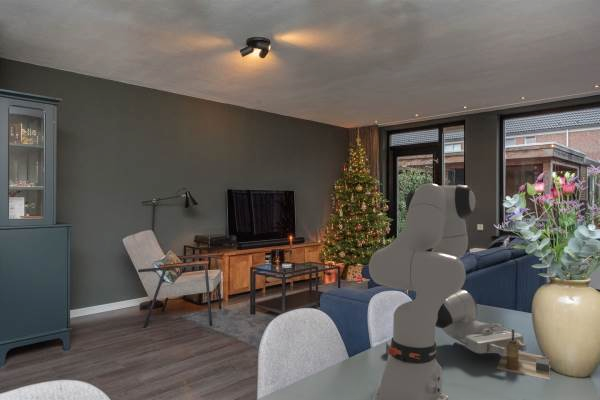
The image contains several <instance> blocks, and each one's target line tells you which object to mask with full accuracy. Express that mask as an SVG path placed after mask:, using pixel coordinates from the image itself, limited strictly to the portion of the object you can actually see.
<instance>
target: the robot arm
mask: <svg viewBox="0 0 600 400" xmlns="http://www.w3.org/2000/svg"><path fill="white" fill-rule="evenodd" d="M404 201H405V203H404V204H405V210H406V212H407V213H406V218H405V222H404V224H403V227H402V229H401V231H400V233H399V234H398V236H397V237H396V238H394V240H393V241H392V242H390V243H389V244H388V245H386V246H384V247H382V248H379V249H377V250H376V251H375V252H374V253H373V254H372V256H371V258H370V259H369V263H368V272H369V275H370V278H371V279H372V281H373V282H374V283H375V284H378V285H380V286H384V287H387V288H391V289H397V290H406V291H413V292H415V298H414V299H413V300H410V301H409V300H408V301H407V302H404V303H402V304H400V305H399V306H397V308H396V309H395V310H394V313H393V319H392V320H393V323H392V325H393V326H392V327H393V329H392V330H393V331H392V333H393V334H392V337H391V340H390V342H391V345H390V347H389V350H388V353H389V355H387V360H386V364H385V366H384V370H383V373H382V376H381V379H379V381H378V384H377V386H376V389H375V391H374V393H373V395H372V396H373V397H372V398H371V400H449V396H448V395H447V394H446V393H444V392H443V371H442V366H441V365H440V364H439V363H438V361H437V359H436V358H437V351H438V348H437V342H436V328H439V329H441V331H443V333H444V334H445V335H447V336H448V337H450V338H452V339H454V340H456V341H458V342H459V343H461V344H463V345H464V347H465V348H466V349H468V350H470V351H472V352H474V353H475V354H479V355H483V354H486V353H497V354H501V355H502V354H507V341H509V339H512V329H509V328H505V327H503V326H502V325H501V324H499V323H488V322H487V323H486V322H481V321H479V320H477V317H478V315H477V313H478V311H477V310H478V309H477V307H478V306H477V301H476V299H475V298H474V296H473V295H472V293H471V292H468V291H467V290H466V289H463V286H464V284H465V281H466V278H467V277H466V276H467V273H466V268H465V265H464V263H463V262H462V260H461V258H462V257H463V256H464V255H465V254H466V252H467V250H468V247H469V246H468V245H469V239H468V238H469V237H468V229H467V224H466V218H467V217H470V216H471V215H472V214H473V213H474V211H475V208H476V196H475V193H474V191H473V189H472V188H471V187H470V186H469V185H463V184H457V185H438V184H436V183H431V182H429V183H424V184H421V185H419V186H418V187H415V188H414V189H410V190H409V191H408V193H407V194H406V195H405V200H404ZM430 249H432V250H431V251H428V250H430ZM514 339H515V340H517V341H516V342H518V343H519V351H520V352H525V351H527V345H526V344H525V343H524V336H523V335H522V334H521V333H520V332H517V331H515V330H514Z"/></svg>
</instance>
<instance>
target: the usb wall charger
mask: <svg viewBox="0 0 600 400" xmlns="http://www.w3.org/2000/svg"><path fill="white" fill-rule="evenodd" d="M390 345H391V341H386V342H385V353H386V355H387V356H388V355H389V353H388V350H389V347H390Z"/></svg>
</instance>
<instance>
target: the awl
mask: <svg viewBox="0 0 600 400" xmlns="http://www.w3.org/2000/svg"><path fill="white" fill-rule="evenodd" d="M511 330H512V339H509V341H507V368H508V369H510V370H518V352H520V350H519V343H518V342H516V341H517V340H515V339H514V331H515V329H511Z"/></svg>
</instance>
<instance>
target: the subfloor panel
mask: <svg viewBox="0 0 600 400" xmlns="http://www.w3.org/2000/svg"><path fill="white" fill-rule="evenodd" d="M537 356H538V357H541V356H542V357H543V356H544V355H540V354H538V355H537V354H533V353H528V352H525V351H519V352H518V370H510V369H508V368H507V354H501V357H500V359H499V361H498V365H497V368H496V369H497V370H502V371H505V372H510V373H516V374H520V375H526V376H529V377H535V378H538V379H545V380H548V381H550V380H551V378H550V376H551V364H550V365H549V372H545V371H541V370H536V359H537Z"/></svg>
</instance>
